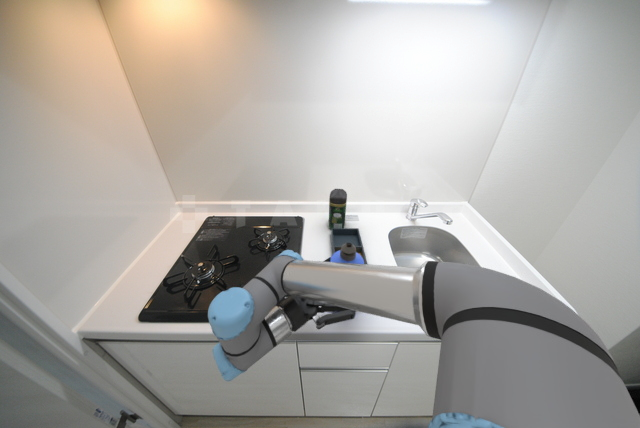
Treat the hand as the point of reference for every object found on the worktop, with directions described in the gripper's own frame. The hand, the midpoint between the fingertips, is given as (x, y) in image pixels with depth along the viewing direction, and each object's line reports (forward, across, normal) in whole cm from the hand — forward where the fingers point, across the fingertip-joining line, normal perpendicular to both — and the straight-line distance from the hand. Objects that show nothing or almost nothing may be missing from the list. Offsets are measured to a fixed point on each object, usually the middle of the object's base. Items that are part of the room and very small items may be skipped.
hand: (347, 273), depth 61 cm
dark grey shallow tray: (+16, -14, -13) cm, 26 cm away
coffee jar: (+26, -32, -14) cm, 43 cm away
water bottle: (-1, 0, -14) cm, 14 cm away
